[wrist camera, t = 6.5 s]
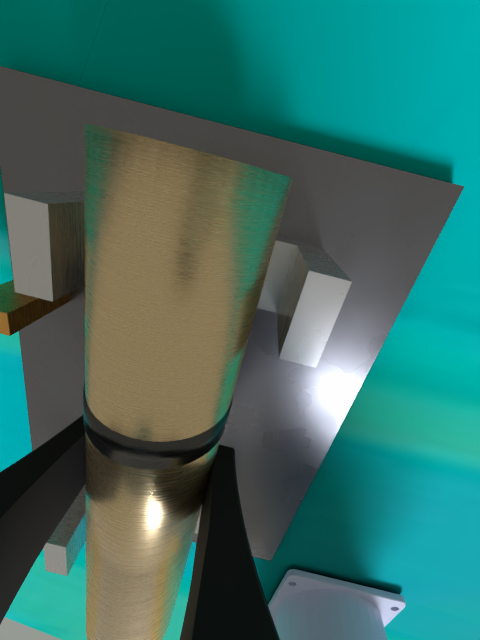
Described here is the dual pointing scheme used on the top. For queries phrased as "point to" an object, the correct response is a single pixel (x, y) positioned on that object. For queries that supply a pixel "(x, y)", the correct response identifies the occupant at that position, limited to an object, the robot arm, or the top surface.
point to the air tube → (161, 355)
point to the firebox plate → (274, 304)
